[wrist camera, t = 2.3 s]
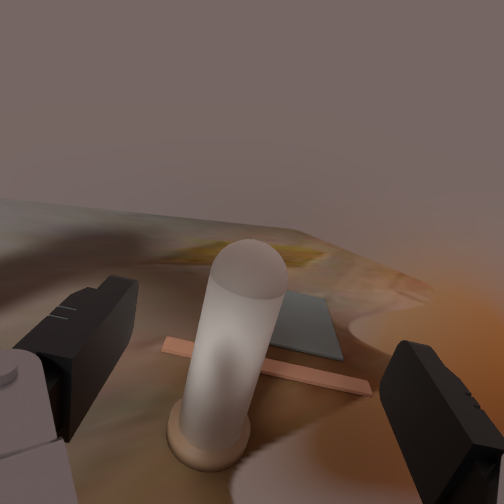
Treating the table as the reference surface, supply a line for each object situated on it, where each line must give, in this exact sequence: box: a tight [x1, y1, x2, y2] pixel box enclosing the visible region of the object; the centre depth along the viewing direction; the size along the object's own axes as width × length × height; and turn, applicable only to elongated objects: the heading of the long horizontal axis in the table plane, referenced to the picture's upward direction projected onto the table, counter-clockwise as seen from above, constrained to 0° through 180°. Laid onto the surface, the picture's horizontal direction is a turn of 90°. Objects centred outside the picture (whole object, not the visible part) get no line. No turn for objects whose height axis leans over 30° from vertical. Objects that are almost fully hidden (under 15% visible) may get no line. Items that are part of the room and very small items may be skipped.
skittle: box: [166, 239, 288, 472], centre depth 24 cm, size 6×6×16 cm
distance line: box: [161, 336, 373, 397], centre depth 36 cm, size 22×2×1 cm, turn 87°
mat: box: [269, 290, 344, 361], centre depth 46 cm, size 16×14×1 cm
